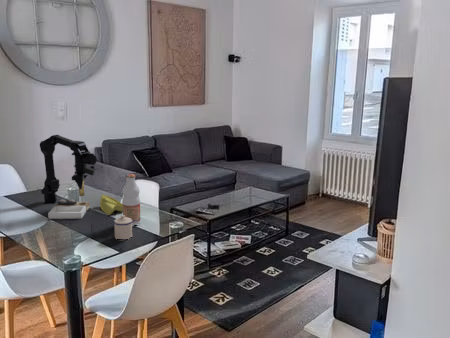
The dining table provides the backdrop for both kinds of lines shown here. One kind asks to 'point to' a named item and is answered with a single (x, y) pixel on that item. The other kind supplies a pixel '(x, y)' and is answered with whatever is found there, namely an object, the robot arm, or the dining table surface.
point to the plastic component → (110, 204)
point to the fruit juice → (131, 200)
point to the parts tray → (67, 212)
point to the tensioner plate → (73, 203)
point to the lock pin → (81, 191)
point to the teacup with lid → (123, 227)
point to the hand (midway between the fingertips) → (81, 188)
